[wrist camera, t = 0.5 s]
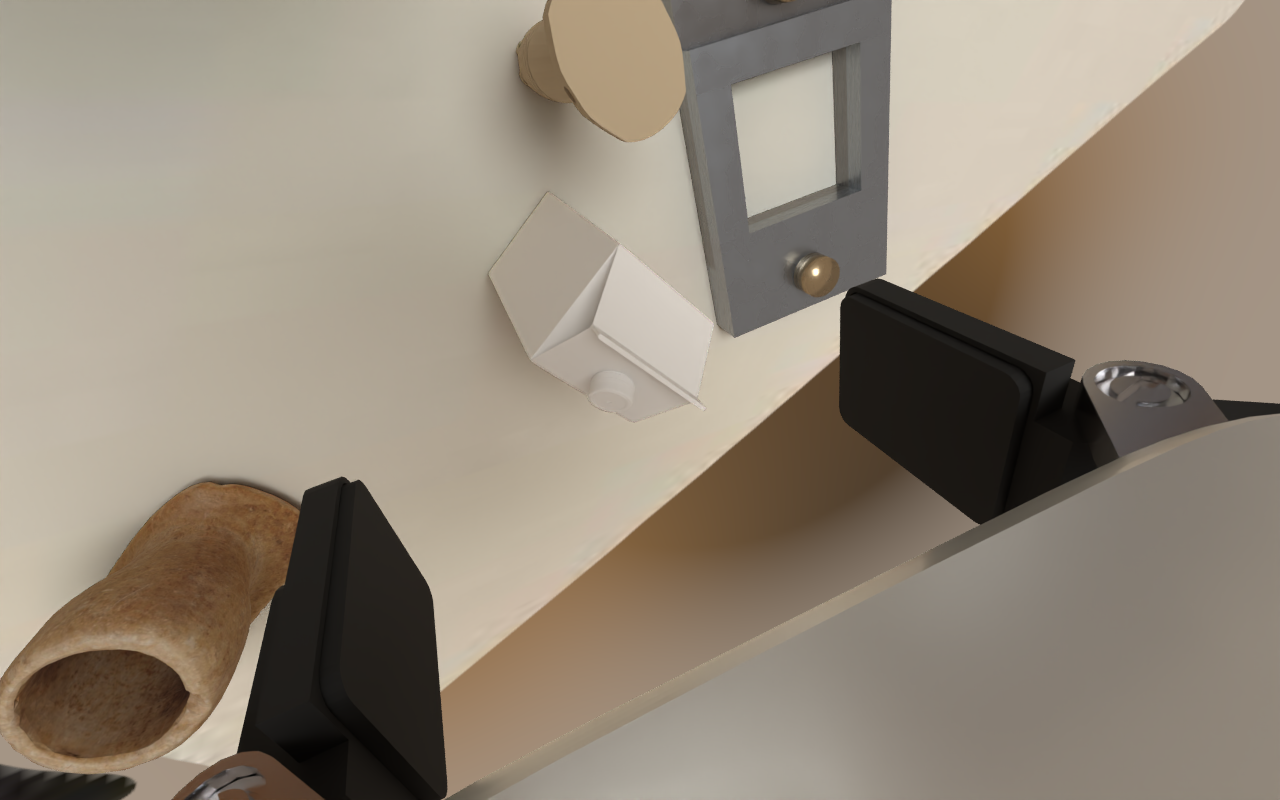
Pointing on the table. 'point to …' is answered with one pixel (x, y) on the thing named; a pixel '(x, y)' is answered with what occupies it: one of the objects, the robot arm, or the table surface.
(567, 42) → the handle
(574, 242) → the milk carton
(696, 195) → the lower end link
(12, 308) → the table surface
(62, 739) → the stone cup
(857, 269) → the upper end link
